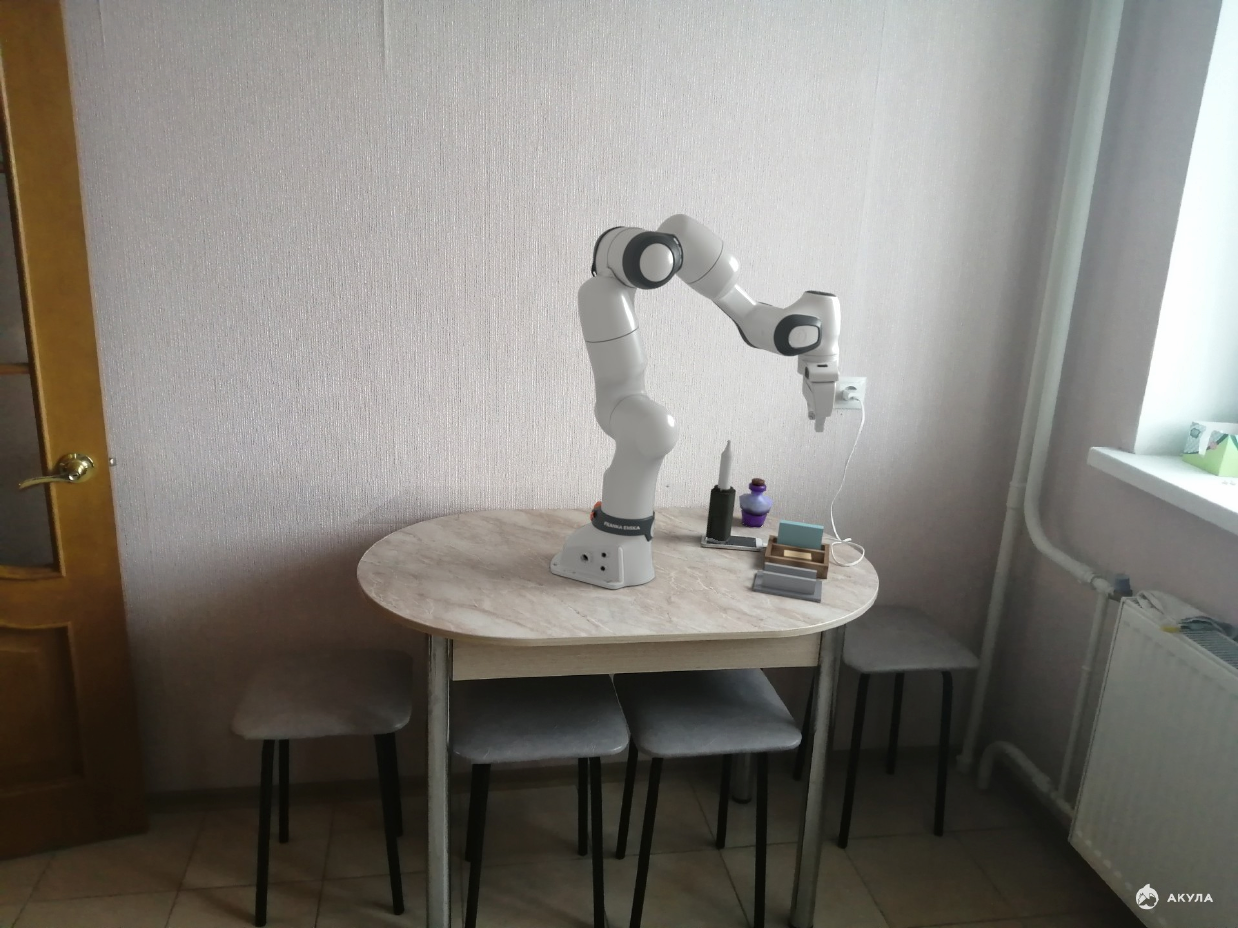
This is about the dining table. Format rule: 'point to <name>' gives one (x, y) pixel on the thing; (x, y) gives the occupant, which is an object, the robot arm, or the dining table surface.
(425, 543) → the dining table surface
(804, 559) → the upper offcut
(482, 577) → the dining table surface
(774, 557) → the rack
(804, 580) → the slate stand
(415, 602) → the dining table surface
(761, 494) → the potion bottle
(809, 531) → the teal flat block
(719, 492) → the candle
